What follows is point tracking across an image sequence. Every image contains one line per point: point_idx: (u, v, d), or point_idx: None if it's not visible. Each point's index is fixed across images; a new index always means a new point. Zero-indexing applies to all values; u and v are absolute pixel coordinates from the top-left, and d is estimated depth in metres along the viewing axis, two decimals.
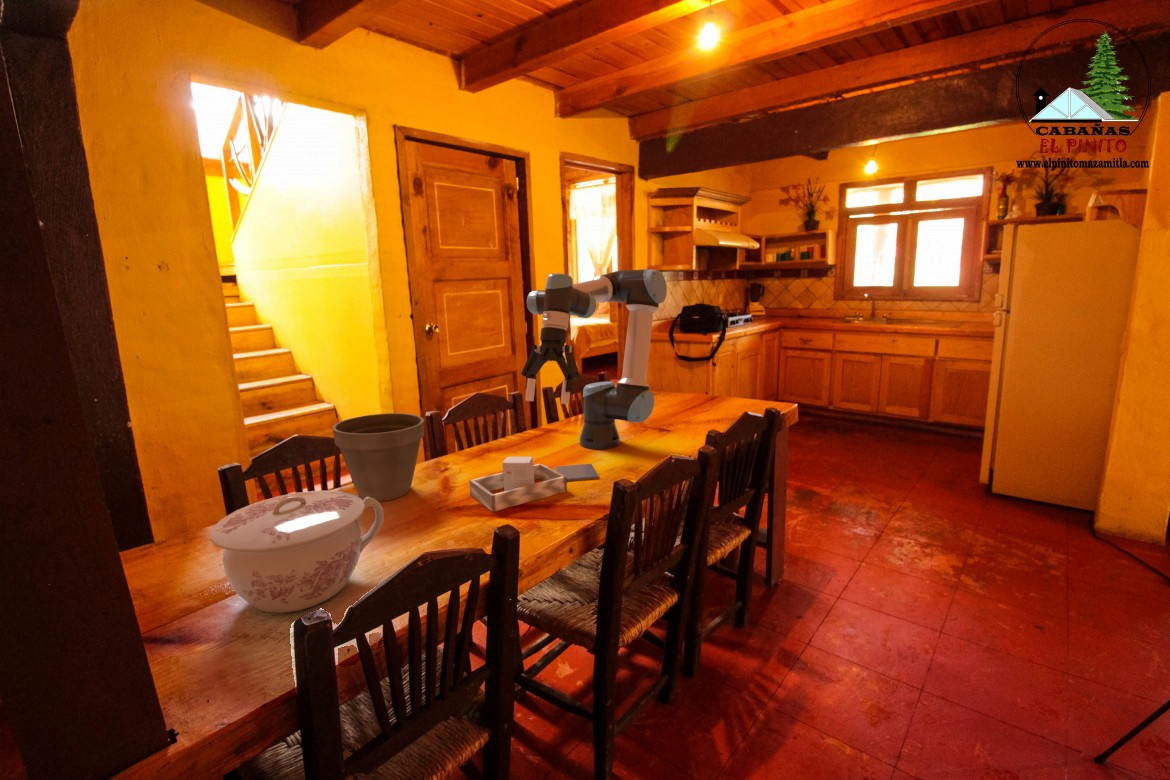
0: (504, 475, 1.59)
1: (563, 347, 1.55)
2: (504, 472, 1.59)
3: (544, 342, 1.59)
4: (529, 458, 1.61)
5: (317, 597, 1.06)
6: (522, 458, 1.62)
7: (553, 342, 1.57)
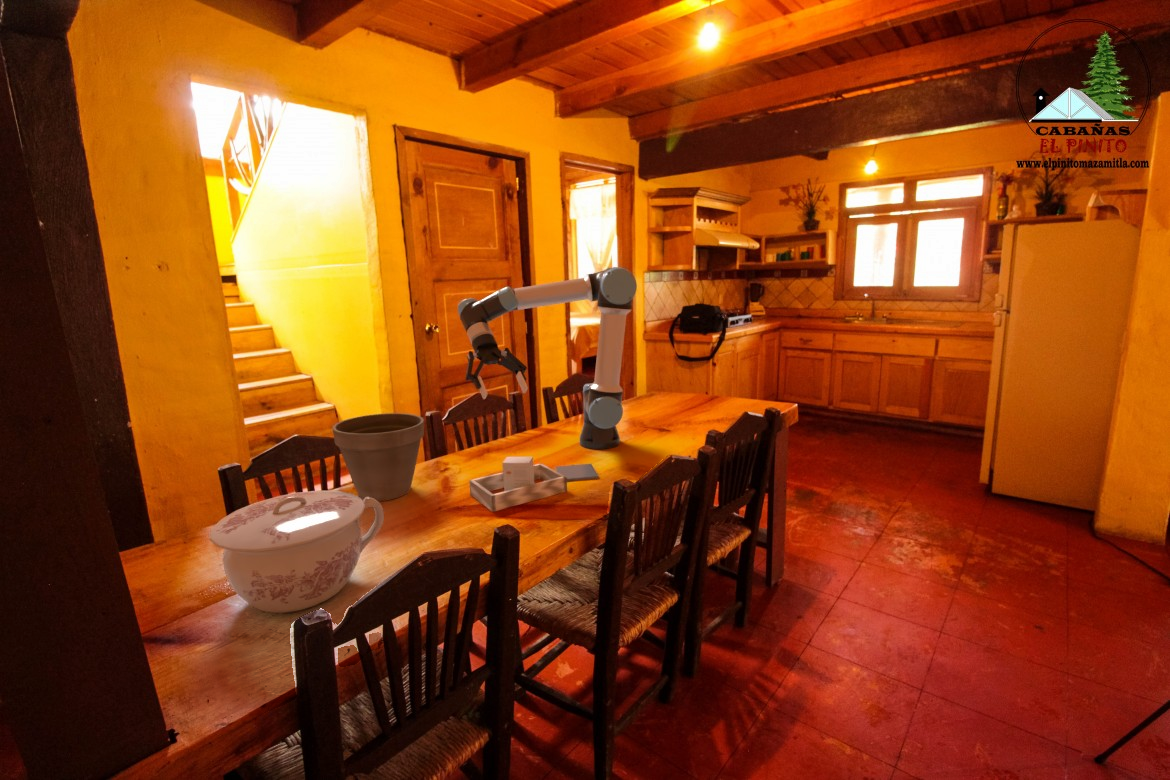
0: (504, 475, 1.59)
1: None
2: (504, 472, 1.59)
3: None
4: (529, 458, 1.61)
5: (317, 597, 1.06)
6: (522, 458, 1.62)
7: None
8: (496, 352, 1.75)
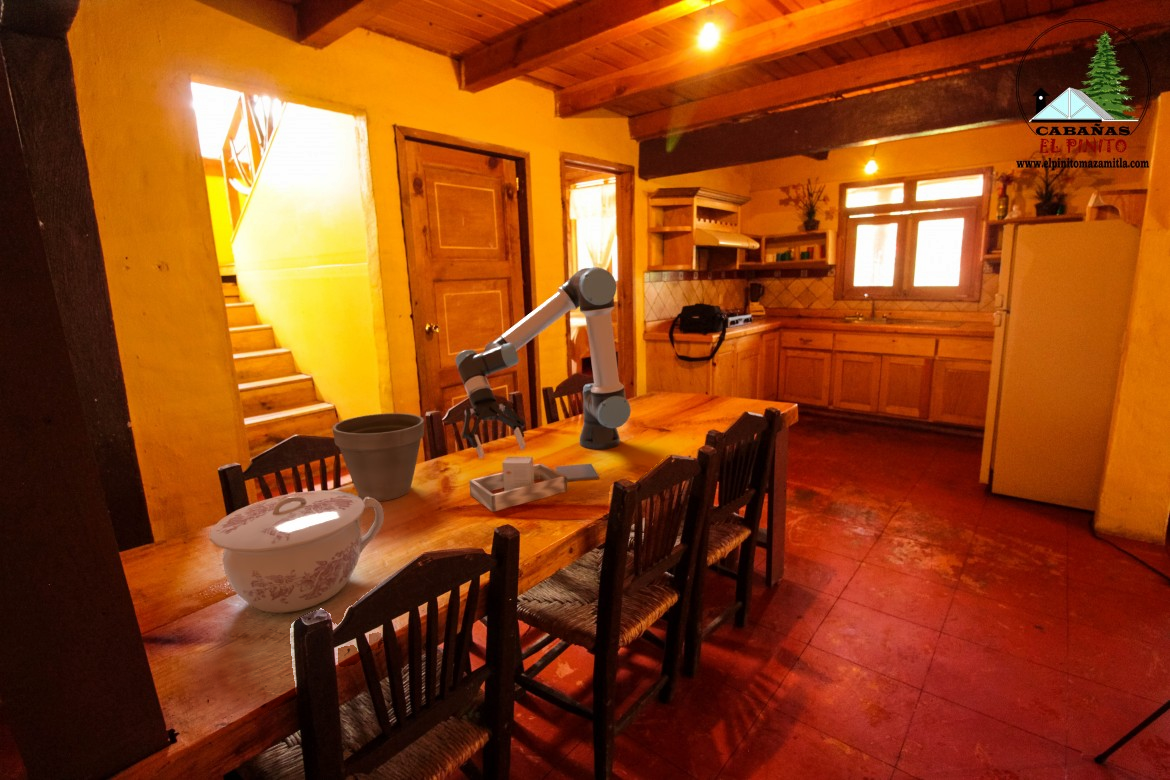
0: (504, 475, 1.59)
1: None
2: (504, 472, 1.59)
3: None
4: (529, 458, 1.61)
5: (317, 597, 1.06)
6: (522, 458, 1.62)
7: None
8: (494, 407, 1.71)
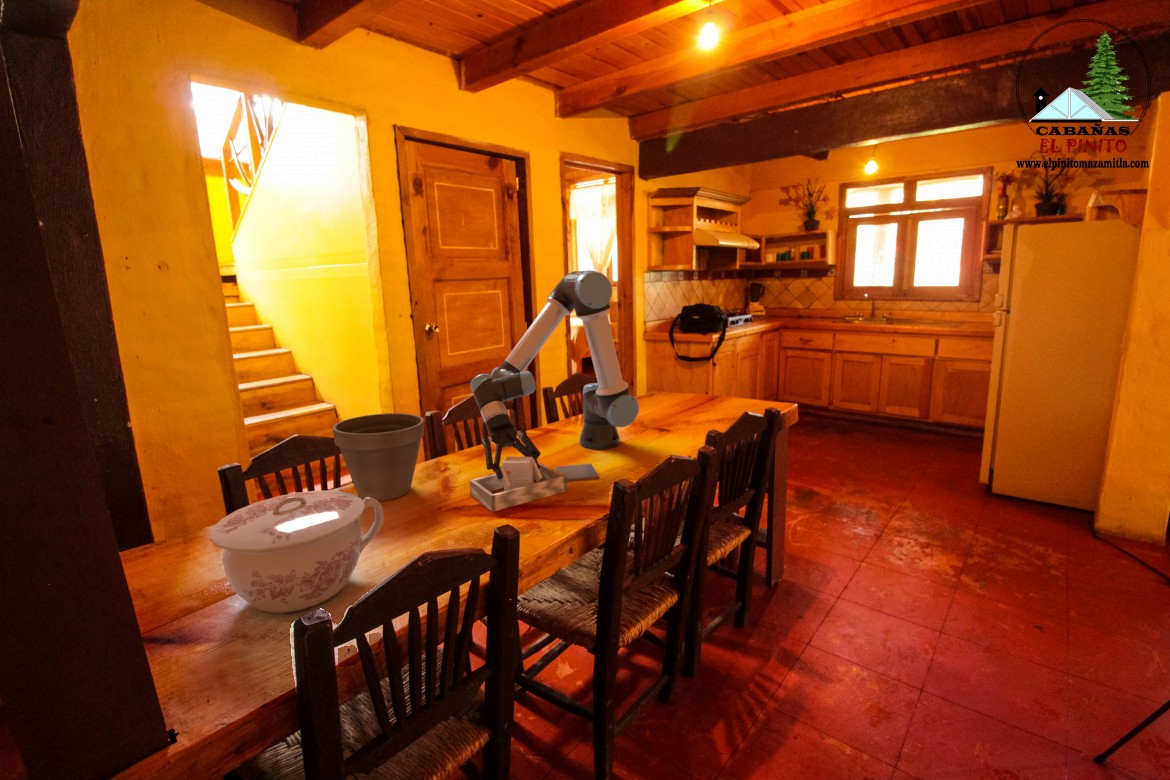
0: None
1: None
2: None
3: None
4: (529, 458, 1.61)
5: (317, 597, 1.06)
6: (522, 457, 1.62)
7: None
8: (511, 434, 1.65)
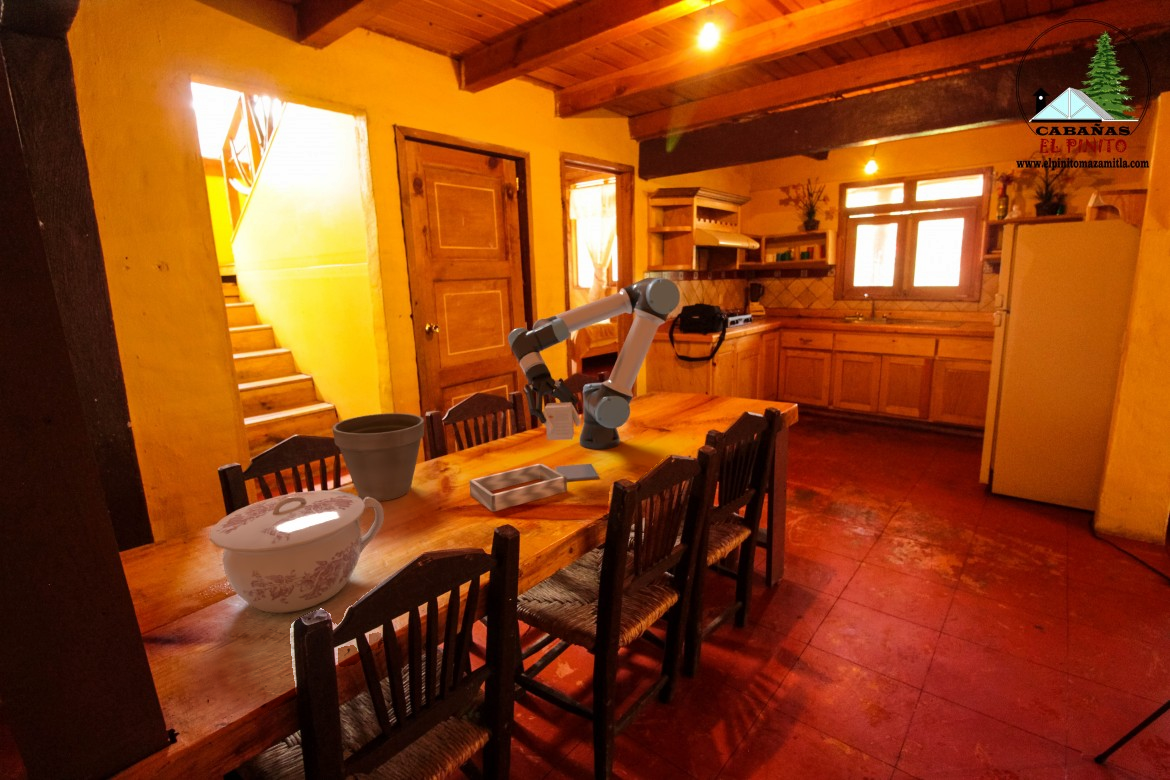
0: None
1: None
2: None
3: None
4: (569, 403, 1.71)
5: (317, 597, 1.06)
6: (562, 403, 1.71)
7: None
8: (550, 382, 1.75)
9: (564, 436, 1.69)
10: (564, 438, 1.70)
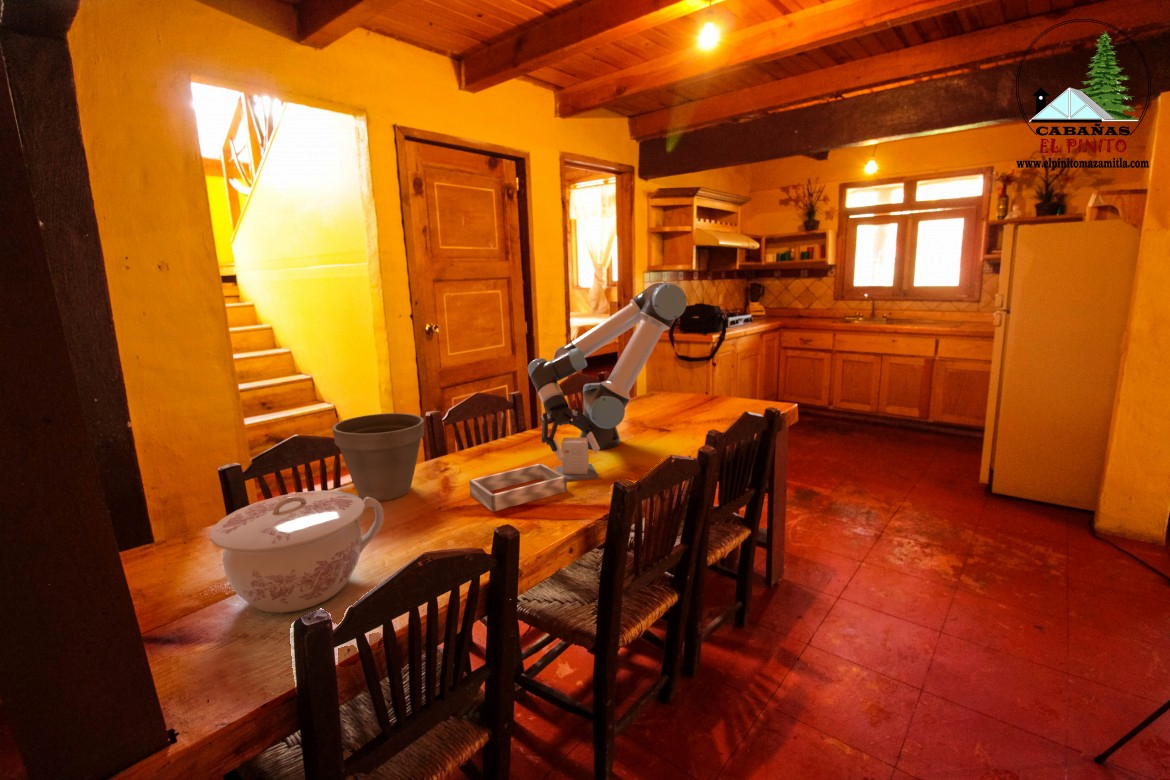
0: None
1: None
2: (563, 451, 1.74)
3: None
4: (585, 438, 1.76)
5: (317, 597, 1.06)
6: (578, 438, 1.77)
7: None
8: (568, 413, 1.80)
9: (579, 471, 1.75)
10: (579, 472, 1.75)
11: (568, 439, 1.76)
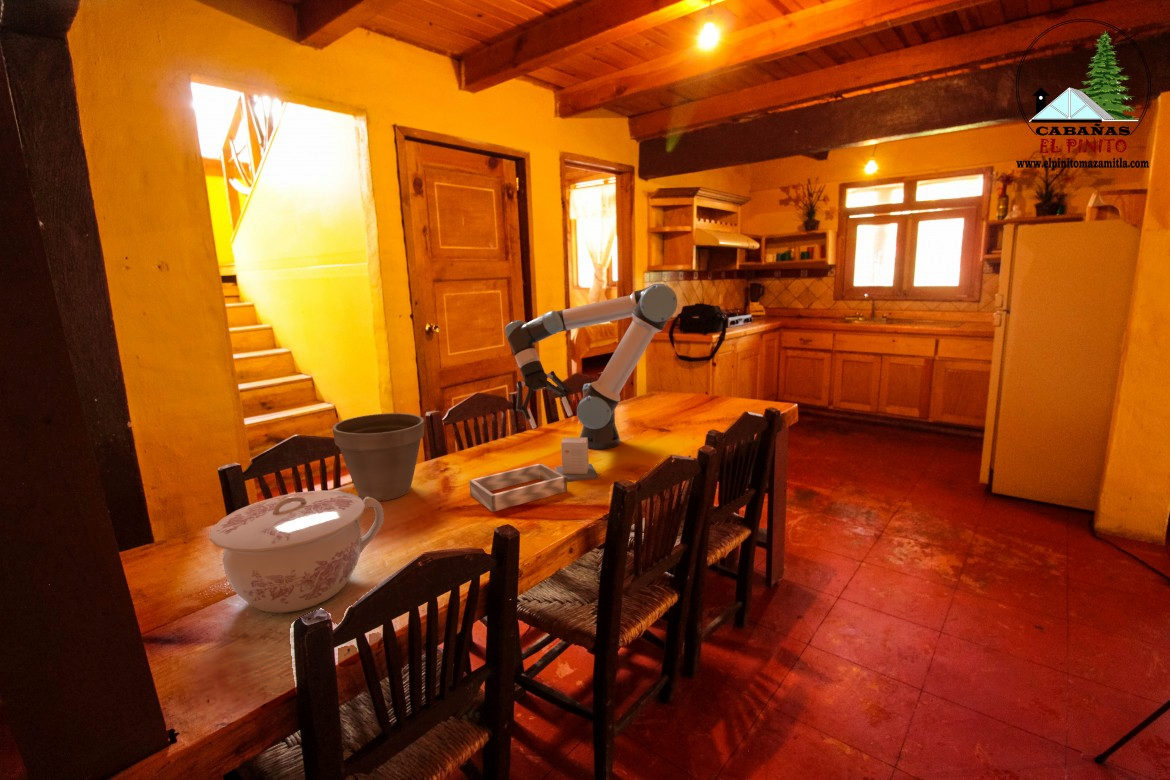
0: (563, 454, 1.74)
1: None
2: (563, 451, 1.74)
3: None
4: (585, 438, 1.76)
5: (317, 597, 1.06)
6: (578, 438, 1.77)
7: None
8: (543, 379, 1.88)
9: (579, 471, 1.75)
10: (579, 472, 1.75)
11: (568, 439, 1.76)
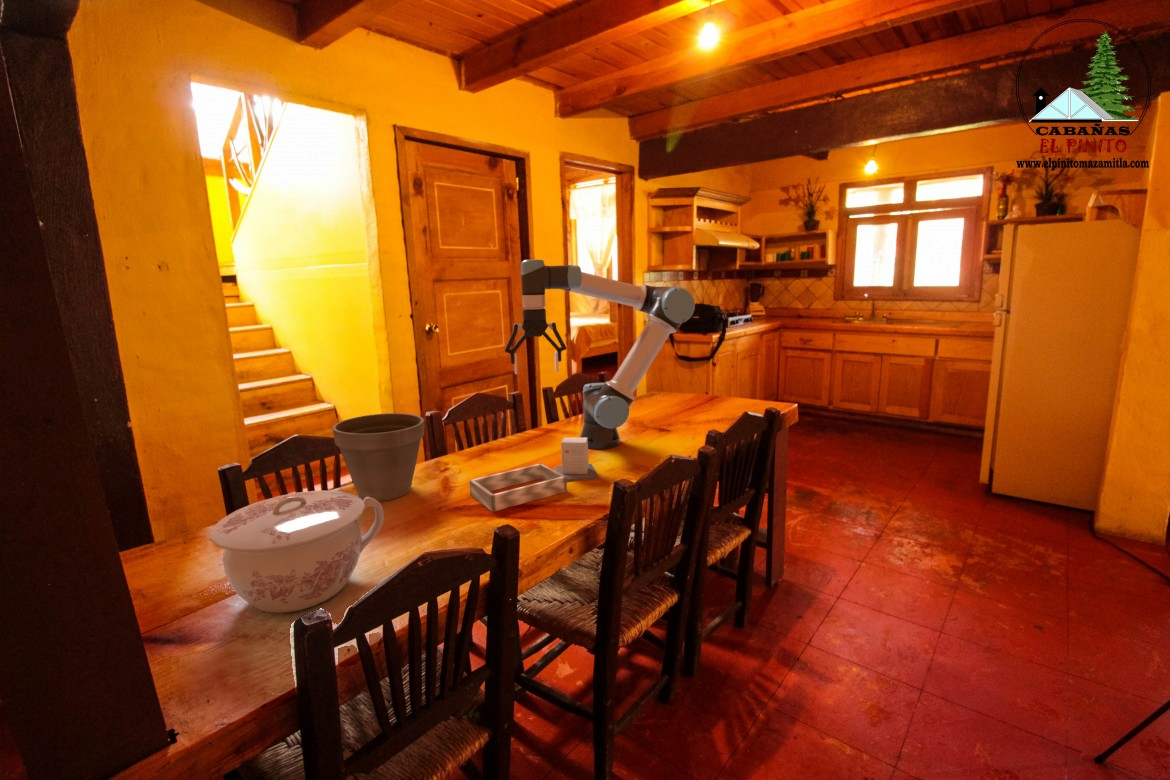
0: (563, 454, 1.74)
1: None
2: (563, 451, 1.74)
3: None
4: (585, 438, 1.76)
5: (317, 597, 1.06)
6: (578, 438, 1.77)
7: None
8: (540, 329, 1.81)
9: (579, 471, 1.75)
10: (579, 472, 1.75)
11: (568, 439, 1.76)
